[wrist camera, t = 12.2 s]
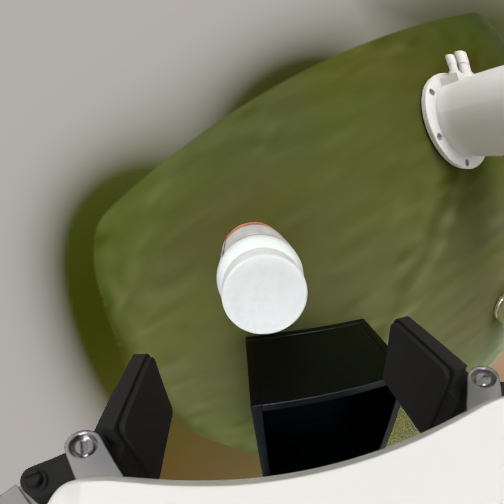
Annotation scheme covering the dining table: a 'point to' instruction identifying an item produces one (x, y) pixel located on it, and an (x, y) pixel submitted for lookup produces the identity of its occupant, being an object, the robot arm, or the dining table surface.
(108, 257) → the dining table surface
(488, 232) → the dining table surface
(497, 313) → the cup with straw
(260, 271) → the pill bottle
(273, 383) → the waste bin
